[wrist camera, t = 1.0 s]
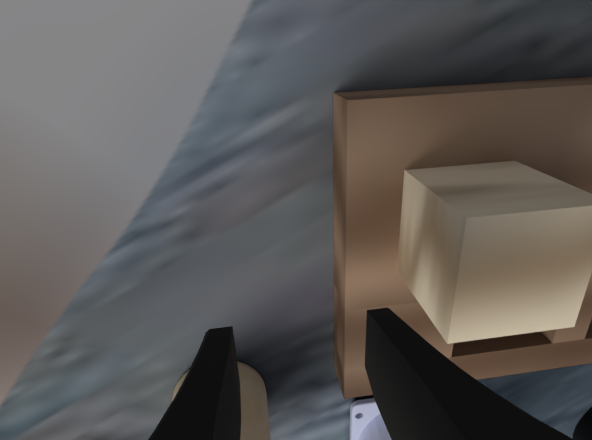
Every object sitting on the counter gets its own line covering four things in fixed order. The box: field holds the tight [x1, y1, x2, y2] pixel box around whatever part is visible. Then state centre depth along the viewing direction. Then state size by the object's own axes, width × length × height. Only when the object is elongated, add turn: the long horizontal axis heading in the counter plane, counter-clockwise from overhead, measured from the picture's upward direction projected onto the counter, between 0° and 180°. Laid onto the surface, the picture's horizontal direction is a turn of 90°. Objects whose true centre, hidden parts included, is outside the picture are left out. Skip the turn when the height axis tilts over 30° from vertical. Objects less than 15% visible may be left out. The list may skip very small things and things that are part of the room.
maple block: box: [397, 161, 592, 344], centre depth 16 cm, size 5×5×5 cm
